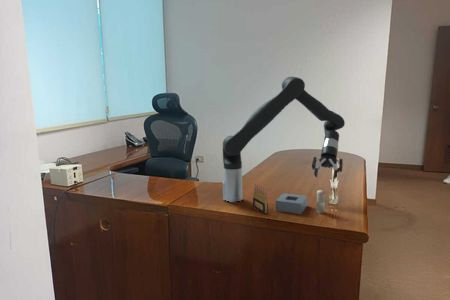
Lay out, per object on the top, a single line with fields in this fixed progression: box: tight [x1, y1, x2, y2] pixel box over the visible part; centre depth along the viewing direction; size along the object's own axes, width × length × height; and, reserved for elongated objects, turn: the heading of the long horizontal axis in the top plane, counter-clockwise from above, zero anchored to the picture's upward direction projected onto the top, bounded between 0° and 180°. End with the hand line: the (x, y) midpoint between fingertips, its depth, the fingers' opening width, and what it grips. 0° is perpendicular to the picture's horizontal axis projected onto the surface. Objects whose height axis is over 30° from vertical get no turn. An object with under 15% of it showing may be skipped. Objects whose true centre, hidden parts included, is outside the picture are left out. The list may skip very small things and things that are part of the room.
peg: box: [316, 189, 326, 214], centre depth 157 cm, size 4×4×10 cm
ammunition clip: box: [252, 183, 269, 215], centre depth 161 cm, size 11×2×12 cm, turn 26°
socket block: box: [275, 192, 308, 215], centre depth 163 cm, size 12×12×5 cm
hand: (325, 177), depth 164 cm, fingers open, 8 cm apart
